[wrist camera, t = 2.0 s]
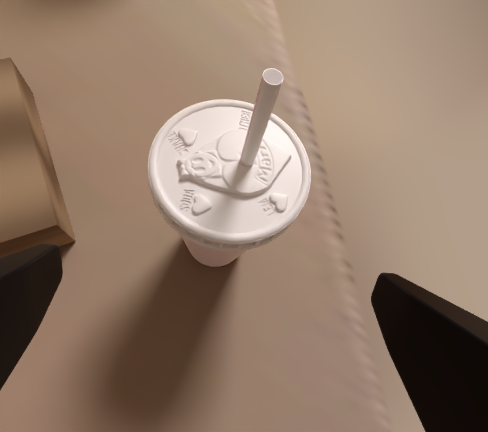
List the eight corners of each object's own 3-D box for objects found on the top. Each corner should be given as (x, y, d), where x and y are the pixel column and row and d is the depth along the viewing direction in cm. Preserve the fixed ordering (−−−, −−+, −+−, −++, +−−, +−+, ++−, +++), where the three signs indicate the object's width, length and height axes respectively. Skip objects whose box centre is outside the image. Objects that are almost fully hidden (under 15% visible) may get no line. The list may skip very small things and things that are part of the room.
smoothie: (273, 277, 21) (405, 171, 8) (172, 298, 19) (137, 208, 7) (251, 189, 23) (327, -8, 10) (158, 201, 22) (111, -9, 9)
